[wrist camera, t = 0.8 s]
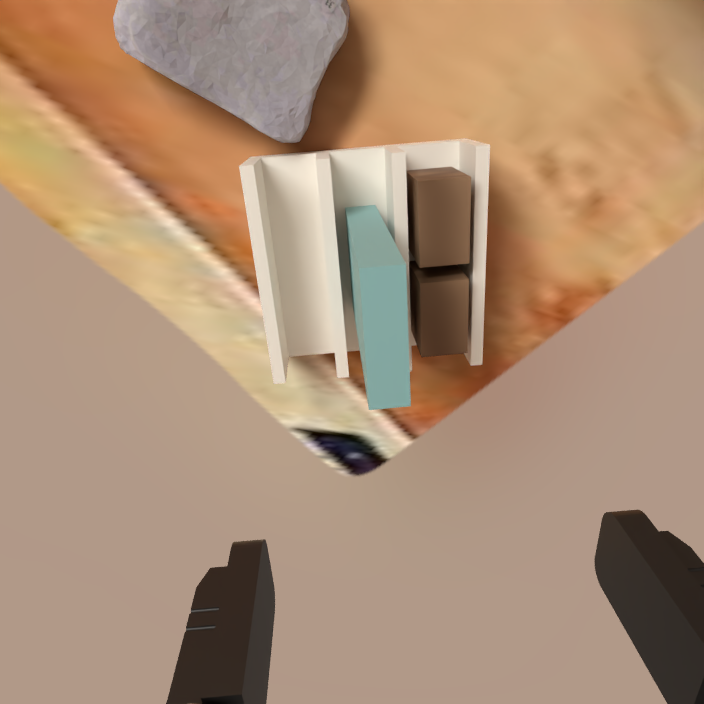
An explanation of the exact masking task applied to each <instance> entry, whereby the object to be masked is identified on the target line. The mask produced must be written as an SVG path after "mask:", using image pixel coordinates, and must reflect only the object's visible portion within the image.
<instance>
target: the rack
mask: <svg viewBox="0 0 704 704" xmlns="http://www.w3.org/2000/svg"><path fill="white" fill-rule="evenodd" d="M489 161H490V145H489V144H485V143H482V142H478V141H474V140H470V139H466V138H464V139H453V140H441V141H429V142H417V143H406V144H394V145H382V146H371V147H359V148H347V149H335V150H324V151H312V152H300V153H289V154H277V155H265V156H253V157H250V158H249V159H247V160H246V161H245V162H244V163H242V164H241V165H240V166H239V169H240V175H241V181H242V187H243V194H244V200H245V206H246V212H247V219H248V225H249V231H250V238H251V244H252V250H253V256H254V263H255V269H256V275H257V282H258V288H259V294H260V300H261V307H262V313H263V319H264V325H265V332H266V338H267V344H268V351H269V357H270V363H271V369H272V376H273V382H274V384H279V383H286V376H287V368H288V360H289V357H294V356H305V355H315V354H326V353H335V360H336V371H337V378H344V377H349V371H348V360H347V352H348V351H359V350H360V349H359V342H358V336H357V329H356V323H355V317H354V310H353V301H352V289H351V276H350V264H349V251H348V239H347V226H346V213H345V207H357V206H368V205H376V207H377V209H378V211H379V213H380V215H381V217H382V219H383V221H384V223H385V225H386V227H387V228H388V230H389V232H390V234H391V236H392V238H393V240H394V242H395V244H396V246H397V248H398V250H399V252H400V253H401V255H402V257H403V259H404V261H405V263H406V275H407V306H408V337H409V369H410V371H412V349H411V346H414V345H417V344H416V342H415V339H414V337H413V334H412V331H411V315H410V281H409V261H415V259H414V257H413V255H412V254H411V252H410V250H409V247H408V214H407V180H406V170H417V169H429V168H440V167H453V168H455V169H457V170H459V171H461V172H463V173H465V174H467V175H469V176H471V211H470V258H469V263H468V264H457V265H458V267H459V268H460V269H461V270H462V271H463V273H464V274H465V275H466V276H467V277H468V279H469V305H468V352H467V353H464V355H465V357H466V358H467V360H468V362H469V364H470V365H471V366H474V365H482V361H483V332H484V304H485V275H486V247H487V218H488V190H489Z"/></svg>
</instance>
